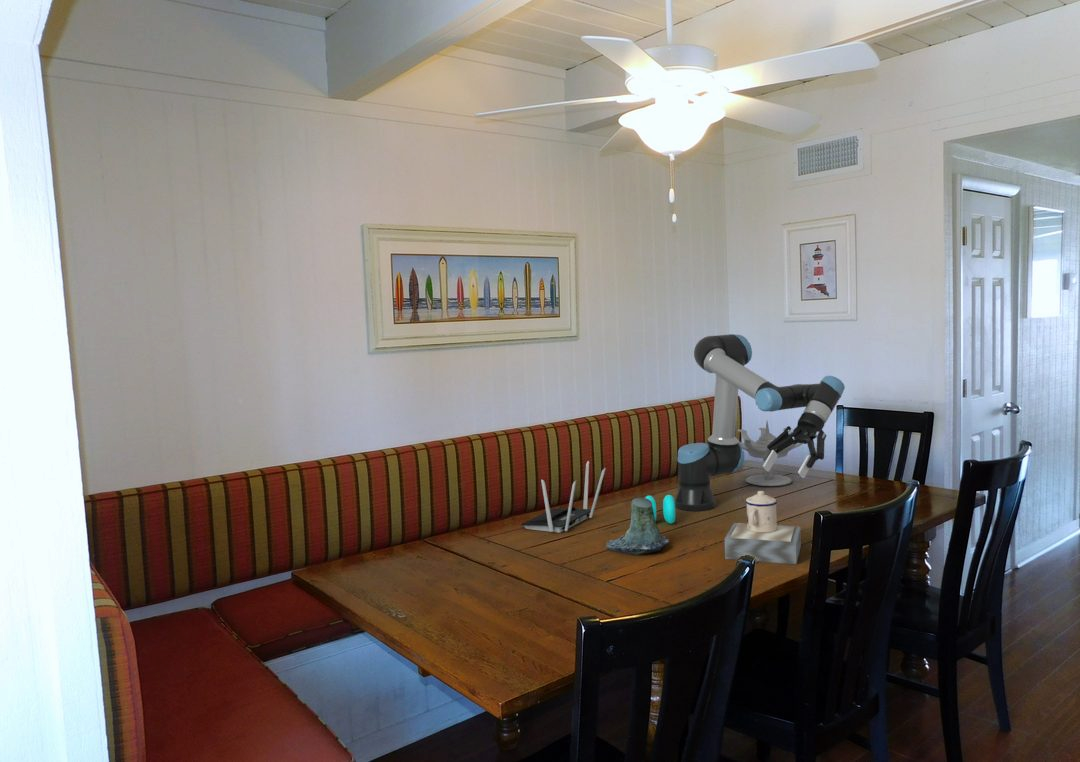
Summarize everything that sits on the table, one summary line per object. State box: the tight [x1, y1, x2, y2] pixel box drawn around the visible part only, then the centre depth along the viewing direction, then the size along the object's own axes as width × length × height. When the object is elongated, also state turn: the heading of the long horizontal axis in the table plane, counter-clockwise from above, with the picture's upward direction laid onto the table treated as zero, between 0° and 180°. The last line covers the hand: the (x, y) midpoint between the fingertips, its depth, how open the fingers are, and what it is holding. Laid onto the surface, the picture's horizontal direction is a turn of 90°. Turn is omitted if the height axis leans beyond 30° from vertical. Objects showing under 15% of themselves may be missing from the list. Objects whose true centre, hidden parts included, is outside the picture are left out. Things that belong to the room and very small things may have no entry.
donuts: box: [644, 494, 676, 524], centre depth 266 cm, size 10×10×10 cm
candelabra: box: [736, 421, 805, 487], centre depth 320 cm, size 34×35×27 cm
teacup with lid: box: [745, 490, 778, 533], centre depth 228 cm, size 12×9×12 cm
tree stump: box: [605, 497, 670, 556], centre depth 238 cm, size 19×21×19 cm
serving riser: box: [724, 522, 802, 565], centre depth 228 cm, size 20×18×6 cm
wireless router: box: [520, 460, 607, 533], centre depth 270 cm, size 34×23×20 cm
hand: (782, 472), depth 234 cm, fingers open, 13 cm apart
